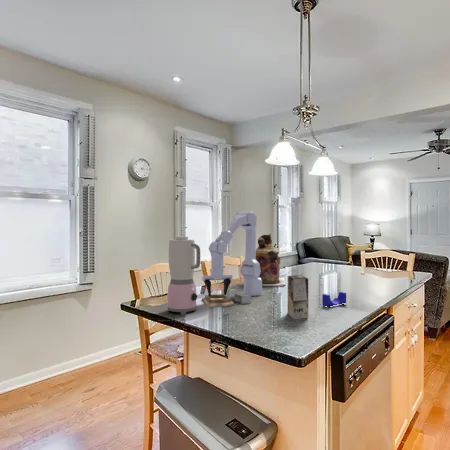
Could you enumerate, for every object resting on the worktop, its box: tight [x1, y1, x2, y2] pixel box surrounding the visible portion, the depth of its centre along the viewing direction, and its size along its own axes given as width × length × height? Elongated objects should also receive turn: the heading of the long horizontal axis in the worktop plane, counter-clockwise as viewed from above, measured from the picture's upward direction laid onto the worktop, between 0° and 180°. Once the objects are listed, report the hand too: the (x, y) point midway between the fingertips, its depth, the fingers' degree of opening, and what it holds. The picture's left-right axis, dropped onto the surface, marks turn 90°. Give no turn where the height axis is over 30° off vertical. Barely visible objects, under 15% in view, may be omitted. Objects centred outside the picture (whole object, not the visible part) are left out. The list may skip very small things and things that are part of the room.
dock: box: [201, 293, 235, 308], centre depth 162 cm, size 12×16×3 cm
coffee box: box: [287, 274, 309, 320], centre depth 138 cm, size 9×6×16 cm
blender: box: [167, 236, 201, 315], centre depth 145 cm, size 16×12×32 cm
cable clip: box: [321, 291, 347, 308], centre depth 156 cm, size 12×4×6 cm, turn 119°
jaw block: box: [234, 292, 252, 305], centre depth 163 cm, size 5×7×4 cm
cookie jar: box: [255, 233, 286, 287], centre depth 216 cm, size 25×25×32 cm
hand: (217, 295), depth 162 cm, fingers open, 7 cm apart
